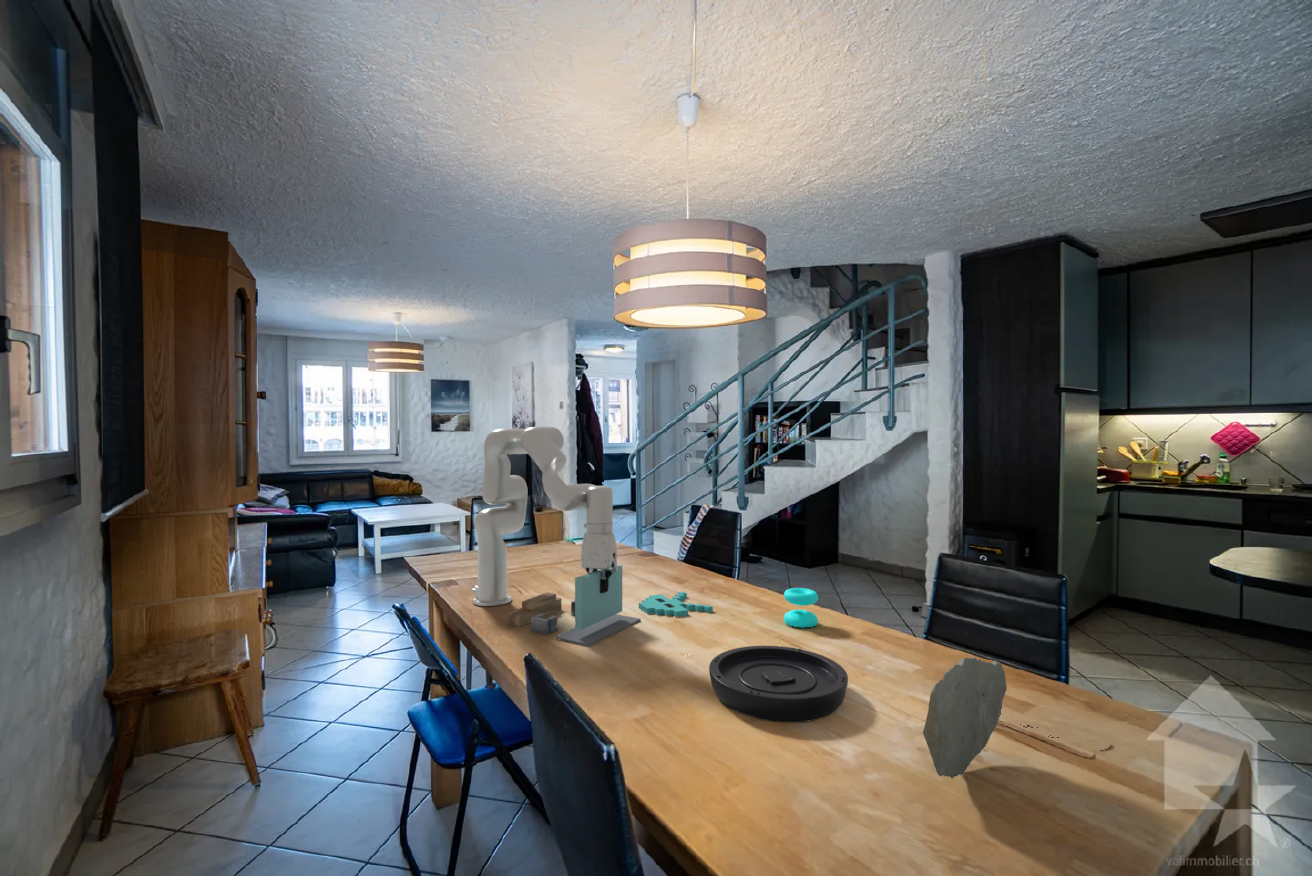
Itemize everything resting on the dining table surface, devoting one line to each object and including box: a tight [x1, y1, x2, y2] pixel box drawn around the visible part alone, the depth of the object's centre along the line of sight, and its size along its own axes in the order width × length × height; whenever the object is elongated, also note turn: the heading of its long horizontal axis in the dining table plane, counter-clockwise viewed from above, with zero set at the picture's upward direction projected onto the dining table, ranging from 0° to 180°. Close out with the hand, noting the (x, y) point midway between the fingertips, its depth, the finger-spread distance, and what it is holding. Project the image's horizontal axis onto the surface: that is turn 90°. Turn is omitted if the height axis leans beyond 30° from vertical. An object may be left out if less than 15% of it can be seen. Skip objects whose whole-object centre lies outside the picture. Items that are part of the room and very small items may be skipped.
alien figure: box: [638, 591, 714, 618], centre depth 201 cm, size 20×2×20 cm
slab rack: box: [530, 600, 575, 636], centre depth 185 cm, size 6×23×4 cm, turn 150°
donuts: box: [783, 587, 819, 629], centre depth 184 cm, size 10×10×10 cm
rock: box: [922, 656, 1007, 779], centre depth 104 cm, size 27×6×20 cm, turn 135°
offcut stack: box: [508, 592, 562, 628], centre depth 190 cm, size 4×20×6 cm, turn 151°
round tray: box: [708, 645, 849, 723], centre depth 136 cm, size 30×6×30 cm
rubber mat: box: [554, 613, 641, 647], centre depth 178 cm, size 12×26×1 cm, turn 150°
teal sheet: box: [574, 564, 623, 630], centre depth 178 cm, size 2×20×14 cm, turn 150°
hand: (599, 591), depth 178 cm, fingers closed on teal sheet, 2 cm apart
